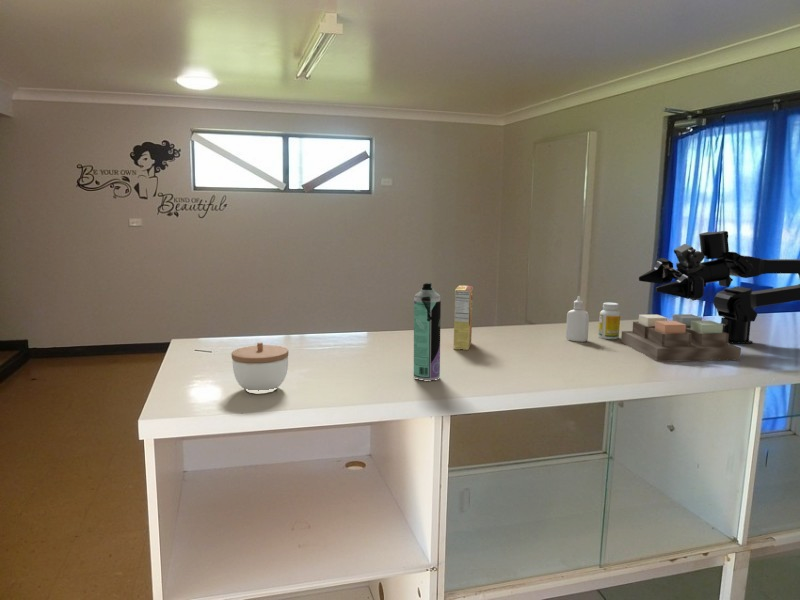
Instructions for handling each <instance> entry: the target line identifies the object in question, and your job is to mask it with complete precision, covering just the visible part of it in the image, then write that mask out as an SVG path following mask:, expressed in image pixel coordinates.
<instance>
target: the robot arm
mask: <svg viewBox="0 0 800 600" xmlns="http://www.w3.org/2000/svg"><path fill="white" fill-rule="evenodd" d="M698 237H699V247H700V251H699V250H698V251H697V249H696V248H694V247H693V246H691V245H689V244H687V243H684V244H682V245H680V246H678V247H676V248H675V249H674V248H673V253H674V254H675V256H676V259H677V261H678V262H676V263H675V264H676V265H675V266H676V268H674V263H673V262H672V261H671V260H669V259H667V258H665V257H661V258H656V261H655V265H654V268H651V270H649V271H647V272H645V273H643V274H642V275H640V276H638V281H639V282H643V283H644V282H645V283H652V284H653V283H654V284H659V286H656V287H655V291H656V293H661V294H665V295H666V294H667V295H670V296H671V295H672V296H676V297H680V298H683V299H687V300H691V301H698V300H701V299H702V298H703V297H704V293H705V287H707V284H712V283H717V282H718V285H719V286H720V287H723V290H720V291H718V292H717V293H716V295H715V296H714V298H713V306H714V308H715V309H716V311H717V316H718V317H721V318H720V320H721V321H720V324H723V329H722V331H723V332H726V333H728V334H729V336H728V343H729V344H754V343H753V342H754V341H752V340H750V332H751V323H752V322H755V321H756V319H757V317H758V313H757V312H756V311H755V309H756V308H759V307H767V306H772V305H779V304H785V303H792V302H793V303H794V302H800V283H799V284H796V285H788V286H781V287H773V288H767V289H759V290H753V289H752V288H748V287H747V288H746V287H743V286H739V285H738V286H733V287H731V284H732V282H733V280H734V279H733V278H732V277H738V278H743V279H749V278H754V277H760V276H763V275H767V274H779V275H780V274H781V275H782V274H795V275H796V274H797V275H798V277H799V279H800V258H798V259H796V258H794V259H791V258H790V259H789V258H777V259H776V258H772V259H769V258H759V257H755V256H749V255H741V254H740V253H737V252H735V251H730V249H729V232H728V231H727V230H722V231H705V232H701V233H699V235H698ZM704 259H706V261H703V260H704ZM707 260H708V261H707ZM731 276H732V277H731ZM673 280H674V281H673ZM660 284H661V285H660ZM729 287H731V288H729Z"/></svg>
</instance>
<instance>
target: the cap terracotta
mask: <svg viewBox="0 0 800 600" xmlns="http://www.w3.org/2000/svg"><path fill="white" fill-rule="evenodd" d="M655 330H657V331H659V332H661V333H664V334H671V333H685V330H686V325H685V324H682V323H680V322H677V321H672V320H667V321H655Z"/></svg>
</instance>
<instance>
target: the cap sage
mask: <svg viewBox="0 0 800 600" xmlns="http://www.w3.org/2000/svg"><path fill="white" fill-rule="evenodd" d="M720 323H721V322H720ZM720 323H719V322H716V321H713V320H702V321H691V330H694V331H696V332H699V333H722V329H723V324H720Z"/></svg>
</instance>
